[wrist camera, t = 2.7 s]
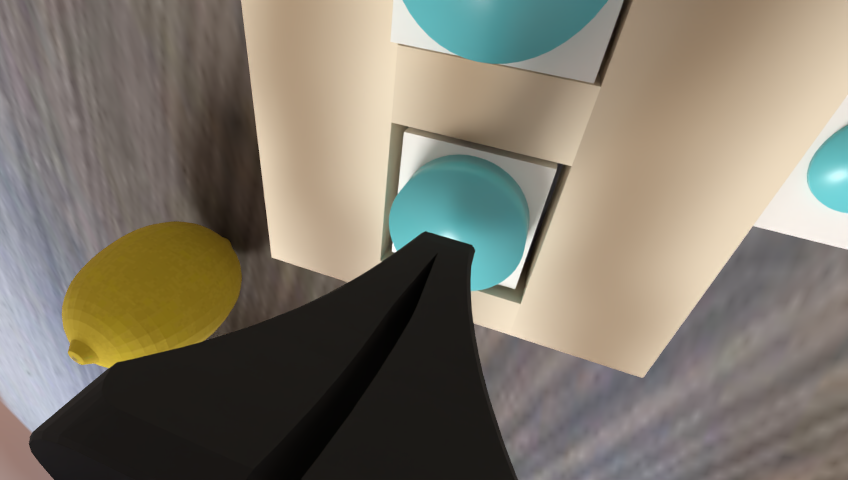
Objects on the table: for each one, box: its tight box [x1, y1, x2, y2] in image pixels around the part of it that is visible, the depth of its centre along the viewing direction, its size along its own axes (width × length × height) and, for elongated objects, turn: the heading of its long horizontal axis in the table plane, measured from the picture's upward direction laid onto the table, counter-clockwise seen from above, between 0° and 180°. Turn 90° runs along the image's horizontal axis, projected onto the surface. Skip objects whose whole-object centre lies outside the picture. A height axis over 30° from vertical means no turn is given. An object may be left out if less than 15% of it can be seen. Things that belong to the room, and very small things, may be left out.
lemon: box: [62, 222, 242, 368], centre depth 18 cm, size 6×6×8 cm
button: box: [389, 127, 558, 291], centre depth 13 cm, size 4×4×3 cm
